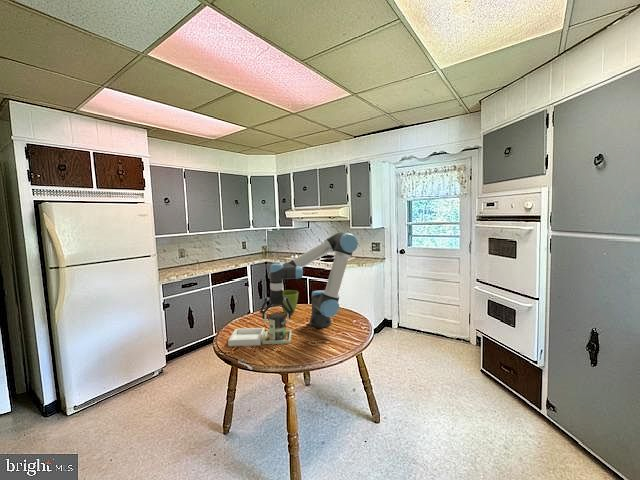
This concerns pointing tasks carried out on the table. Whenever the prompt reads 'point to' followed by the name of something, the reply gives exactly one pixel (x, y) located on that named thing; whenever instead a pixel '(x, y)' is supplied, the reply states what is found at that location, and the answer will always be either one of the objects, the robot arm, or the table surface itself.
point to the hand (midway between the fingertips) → (276, 324)
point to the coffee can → (277, 326)
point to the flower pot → (290, 299)
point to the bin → (247, 337)
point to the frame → (277, 340)
